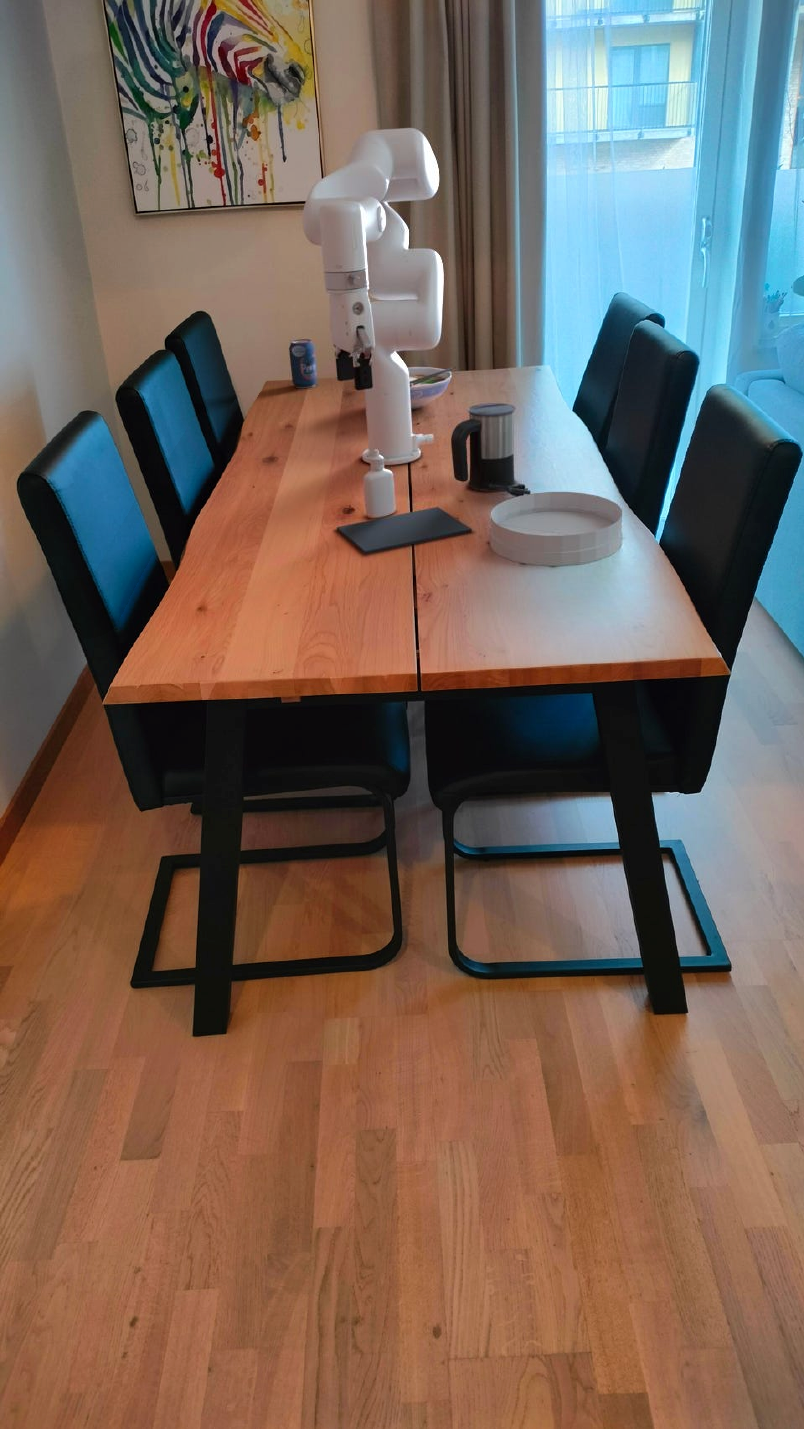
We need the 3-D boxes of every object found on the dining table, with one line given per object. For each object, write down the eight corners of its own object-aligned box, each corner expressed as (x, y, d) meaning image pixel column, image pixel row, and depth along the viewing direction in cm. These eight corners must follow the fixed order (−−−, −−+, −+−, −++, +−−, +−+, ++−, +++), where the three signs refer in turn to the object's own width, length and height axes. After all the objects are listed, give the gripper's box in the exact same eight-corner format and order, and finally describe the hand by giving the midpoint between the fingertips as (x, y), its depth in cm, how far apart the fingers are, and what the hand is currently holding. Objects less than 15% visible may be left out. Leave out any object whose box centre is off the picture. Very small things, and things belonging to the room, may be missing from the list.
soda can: (307, 389, 284) (303, 344, 278) (288, 387, 287) (283, 343, 281) (322, 384, 289) (318, 339, 283) (303, 382, 292) (298, 338, 286)
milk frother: (484, 475, 208) (483, 400, 200) (554, 485, 199) (555, 407, 192) (446, 495, 198) (443, 418, 190) (517, 507, 189) (517, 426, 182)
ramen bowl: (400, 392, 275) (398, 360, 271) (473, 399, 263) (472, 366, 259) (342, 414, 258) (339, 380, 254) (416, 423, 246) (414, 388, 242)
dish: (590, 574, 160) (591, 544, 158) (466, 554, 171) (465, 525, 168) (642, 528, 176) (643, 500, 174) (525, 512, 187) (525, 485, 184)
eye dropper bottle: (364, 512, 192) (359, 448, 186) (394, 509, 193) (390, 445, 187) (366, 519, 189) (361, 454, 182) (397, 516, 189) (393, 452, 183)
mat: (437, 509, 191) (437, 506, 191) (471, 532, 180) (471, 529, 179) (336, 530, 185) (336, 527, 184) (365, 554, 173) (365, 551, 173)
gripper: (385, 284, 172) (392, 390, 180) (349, 274, 186) (357, 373, 194) (343, 289, 169) (352, 396, 178) (309, 279, 183) (319, 379, 192)
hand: (354, 384), depth 186 cm, fingers open, 8 cm apart
